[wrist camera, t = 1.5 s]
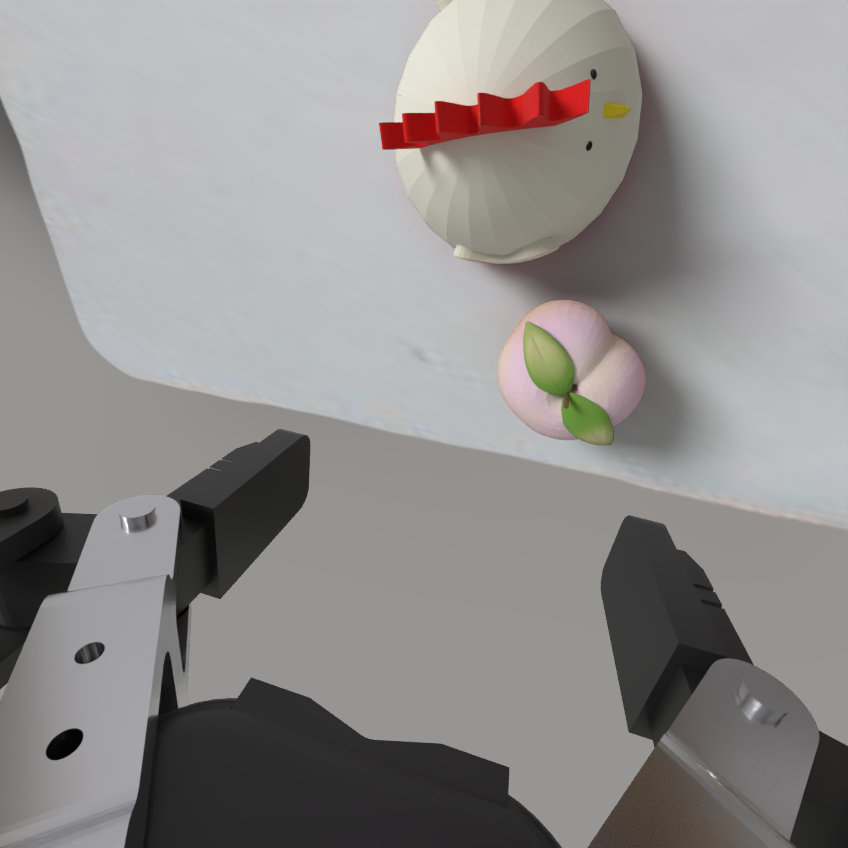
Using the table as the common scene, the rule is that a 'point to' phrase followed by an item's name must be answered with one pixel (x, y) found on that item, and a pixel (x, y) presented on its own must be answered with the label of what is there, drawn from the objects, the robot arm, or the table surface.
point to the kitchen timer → (515, 123)
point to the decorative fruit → (570, 373)
